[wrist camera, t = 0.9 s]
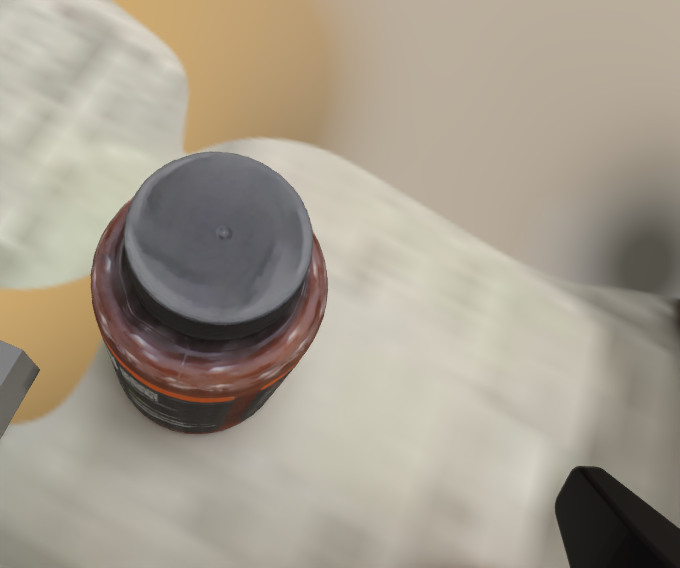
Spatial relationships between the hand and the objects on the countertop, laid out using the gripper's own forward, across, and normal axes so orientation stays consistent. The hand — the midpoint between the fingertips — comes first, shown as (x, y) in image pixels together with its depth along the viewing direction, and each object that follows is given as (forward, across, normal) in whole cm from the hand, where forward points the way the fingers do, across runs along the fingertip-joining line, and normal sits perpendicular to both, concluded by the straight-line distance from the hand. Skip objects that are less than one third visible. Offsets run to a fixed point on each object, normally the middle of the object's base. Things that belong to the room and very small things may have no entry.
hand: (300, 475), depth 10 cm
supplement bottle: (+13, +1, +8) cm, 15 cm away
